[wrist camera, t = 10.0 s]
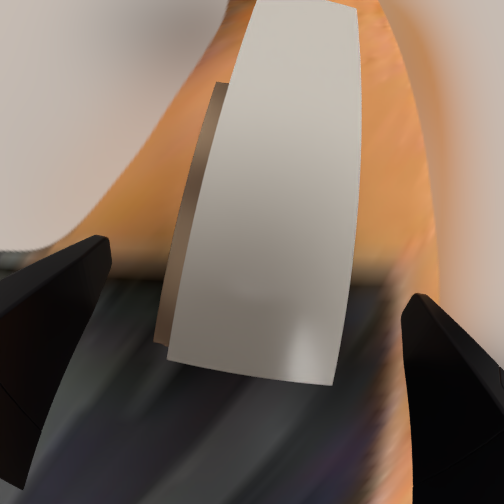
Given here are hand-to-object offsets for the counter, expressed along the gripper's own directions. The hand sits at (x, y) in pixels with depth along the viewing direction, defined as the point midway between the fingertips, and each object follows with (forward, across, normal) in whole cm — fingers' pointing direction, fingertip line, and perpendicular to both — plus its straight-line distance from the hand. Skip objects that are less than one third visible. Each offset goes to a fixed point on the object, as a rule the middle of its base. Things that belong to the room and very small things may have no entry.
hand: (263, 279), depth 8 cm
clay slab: (+8, 0, +3) cm, 9 cm away
